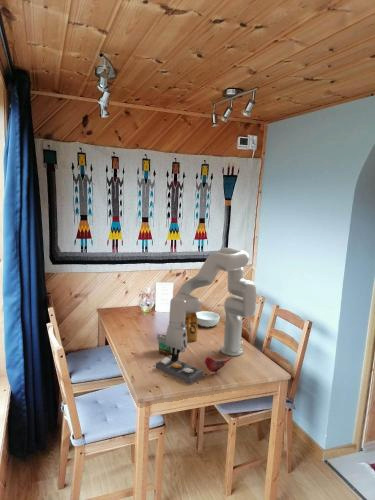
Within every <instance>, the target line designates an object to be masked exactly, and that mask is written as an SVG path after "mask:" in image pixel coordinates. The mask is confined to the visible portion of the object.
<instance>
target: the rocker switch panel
mask: <svg viewBox="0 0 375 500" xmlns="http://www.w3.org/2000/svg"><path fill="white" fill-rule="evenodd" d="M166 357H167V358H170V359H172V356H166ZM162 360H163V359H161V360H159V361H157V362H155V369H156V370H157V371H161V372H163V373H164V374H167V375H169V376H172V377H174V378H176V379H178V380H179V381H182V382H184V383H186V384H189V385H192V384H193V383H195V382H197V381H199V380H200V379H202V378H203V377H204V370H202V369H200V368H198V367H197V366H193V365H192V364H188V363H186V362H184V361H181V360H179V359H178V361H176V362H172V361H170V362H169V363H168V364H166V365H164V364H162V363H161V361H162ZM175 363H178V364H180V365H182V367H179V368H176V367H174V366H172V364H175ZM184 368H190V369H192V370H194V371H193V372H190V373H188V372H185V371H183V369H184Z"/></svg>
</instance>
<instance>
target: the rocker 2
mask: <svg viewBox="0 0 375 500" xmlns="http://www.w3.org/2000/svg"><path fill="white" fill-rule="evenodd" d="M183 371H185V372H188V373H190V372H193V371H194V370H192V369H190V368H184V369H183Z"/></svg>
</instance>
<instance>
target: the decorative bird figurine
mask: <svg viewBox="0 0 375 500" xmlns="http://www.w3.org/2000/svg"><path fill="white" fill-rule="evenodd" d="M231 360H232V357H230V358H228V359H226V360H223V359H222V360H221V359H214V358H213V357H211V356H207V357H206V358H205V360H204V362H203V363H205V366H206V368H207V369H208V370H209V372H212V373H211V374H210V376H213V375H217V374H218V373H219V372H218V371H220V370H221V369H222V368H223V367H224V366H225V364H226V363H228V362H229V361H231Z"/></svg>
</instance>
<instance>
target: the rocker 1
mask: <svg viewBox="0 0 375 500" xmlns="http://www.w3.org/2000/svg"><path fill="white" fill-rule="evenodd" d="M167 357H168V356H166V357H164V358H162V359H161V360H162V361H161V360H160V361H161V363H162V364H164V365H166V364H168V363H169V362H170V361H171V359H170V358H167Z"/></svg>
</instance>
